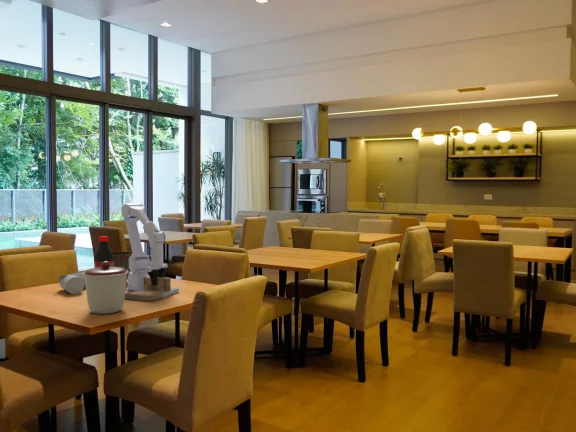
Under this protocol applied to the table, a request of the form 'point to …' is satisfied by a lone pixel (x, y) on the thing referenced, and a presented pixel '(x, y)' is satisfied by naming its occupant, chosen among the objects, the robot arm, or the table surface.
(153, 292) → the tile right
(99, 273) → the canister
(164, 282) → the brown wooden block
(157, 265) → the robot arm
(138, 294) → the tile left
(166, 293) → the slate board
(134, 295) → the tray
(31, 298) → the table surface
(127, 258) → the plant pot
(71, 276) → the bent grey cylinder
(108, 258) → the cola bottle
